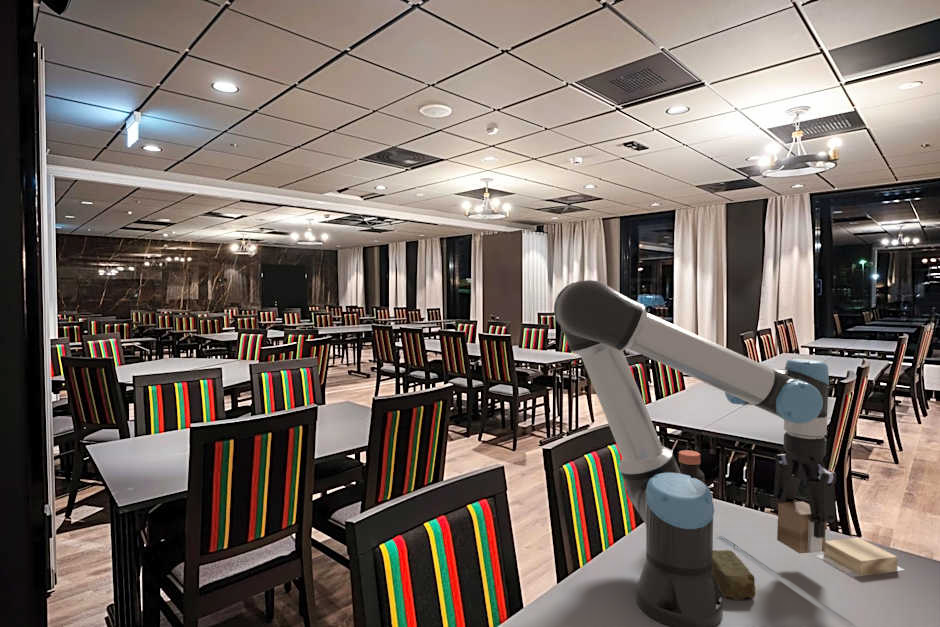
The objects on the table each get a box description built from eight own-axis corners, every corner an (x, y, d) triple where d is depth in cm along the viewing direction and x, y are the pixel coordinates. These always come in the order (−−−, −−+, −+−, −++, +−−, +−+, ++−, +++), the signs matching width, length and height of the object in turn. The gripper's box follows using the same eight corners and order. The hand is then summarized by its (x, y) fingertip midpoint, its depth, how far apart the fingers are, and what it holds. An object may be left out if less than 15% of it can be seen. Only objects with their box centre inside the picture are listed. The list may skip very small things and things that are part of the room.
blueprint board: (852, 581, 109) (852, 576, 108) (815, 560, 117) (815, 555, 117) (905, 574, 111) (905, 569, 111) (865, 554, 120) (865, 549, 120)
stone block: (732, 571, 113) (732, 548, 113) (757, 603, 102) (758, 577, 102) (704, 570, 114) (704, 547, 113) (726, 601, 102) (726, 576, 102)
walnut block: (799, 553, 108) (800, 514, 108) (777, 540, 114) (778, 503, 113) (824, 551, 109) (826, 512, 109) (801, 538, 115) (802, 501, 115)
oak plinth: (860, 575, 109) (861, 561, 109) (823, 554, 118) (823, 541, 118) (897, 571, 111) (897, 556, 111) (857, 550, 119) (858, 537, 119)
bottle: (708, 533, 131) (709, 453, 130) (696, 542, 126) (697, 459, 125) (681, 525, 136) (682, 447, 135) (669, 533, 131) (669, 452, 130)
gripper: (861, 446, 102) (857, 564, 103) (785, 422, 121) (782, 523, 121) (828, 447, 101) (824, 568, 101) (756, 423, 119) (753, 525, 120)
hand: (801, 543), depth 111 cm, fingers closed on walnut block, 6 cm apart
